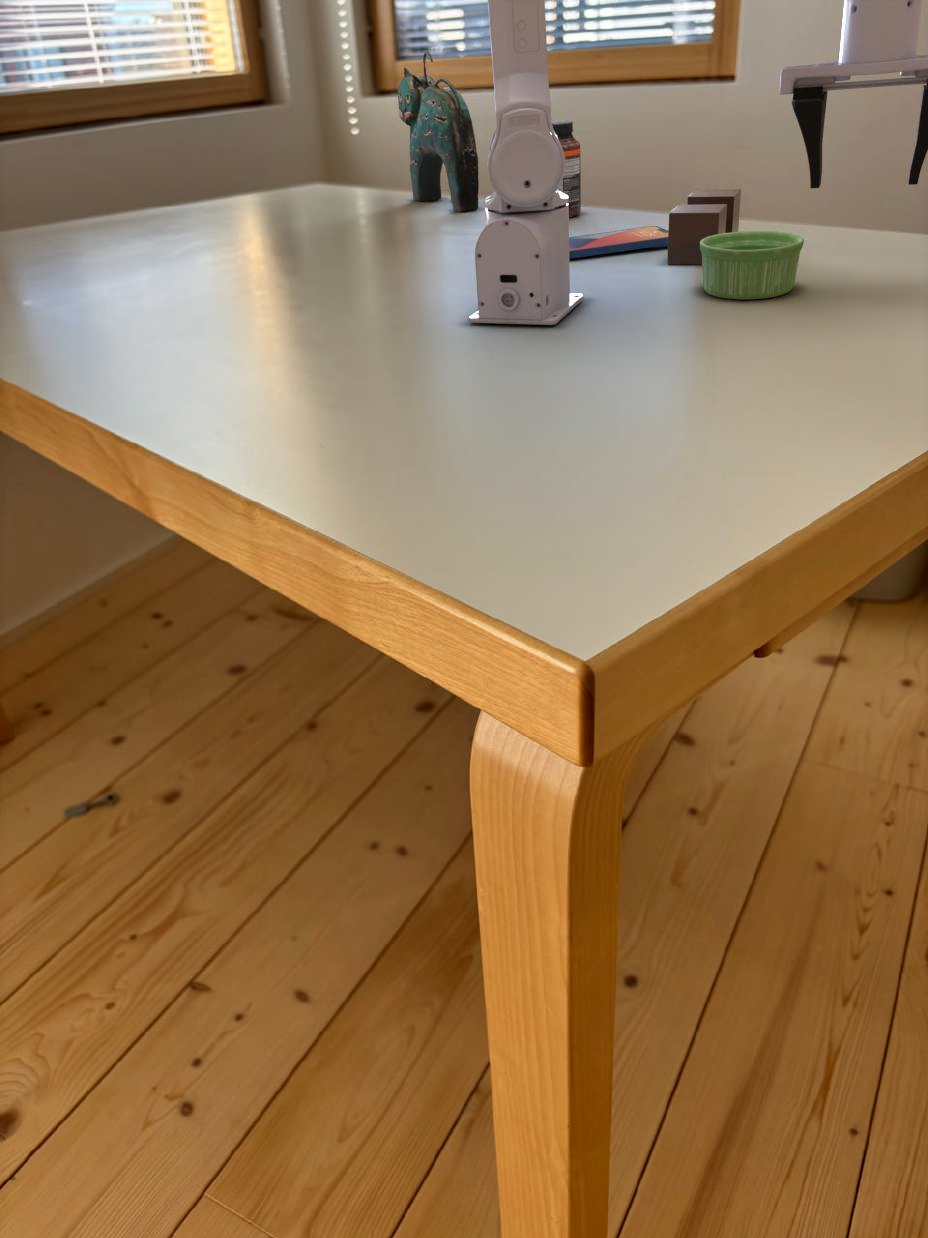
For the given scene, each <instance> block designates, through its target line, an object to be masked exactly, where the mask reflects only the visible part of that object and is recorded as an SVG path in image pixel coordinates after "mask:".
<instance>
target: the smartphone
mask: <svg viewBox="0 0 928 1238" xmlns="http://www.w3.org/2000/svg"><path fill="white" fill-rule="evenodd" d="M668 231H669V229H666V228H664V227H660V226H657V225H648V226H641V227H633V228H627V229H626V228H625V229H619V230H612V231H604V232H597V233H591V234H584V235H576V236H569V260H570V259H578V258H584V257H585V258H586V257H591V256H597V255H605V254H611V253H613V254H614V253H618V252H627V251H632V250H633V251H634V250H641V249H646V248H662V247H668Z"/></svg>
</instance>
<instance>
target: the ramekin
mask: <svg viewBox="0 0 928 1238" xmlns="http://www.w3.org/2000/svg"><path fill="white" fill-rule="evenodd" d="M804 243H805V240H804V237H802V236H801V235H799V234H795V233H792V232H785V231H777V230H746V231H745V230H743V231H738V232H730V233H722V234H717V235H712V236H709V237H706V238H704V239H702V240H701V241H700V250H701V252H702V265H701V267H702V269H701V270H702V288H703V290H704V292H705V293H707V294H708V295H710V296H713V297H717V298H721V299H728V300H761V299H769V298H775V297H779V296H783V295H785V294H787V293H789V292H791V290H793V289H794V286H795V282H796V278H797V277H796V276H797V271H798V266H799V260H800V255H801V251H802V249H803V247H804Z"/></svg>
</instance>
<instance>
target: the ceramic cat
mask: <svg viewBox="0 0 928 1238" xmlns="http://www.w3.org/2000/svg"><path fill="white" fill-rule="evenodd" d="M422 56H423V57H422V62H423V75H415V74H413V73H411V72H410V71H409V69H408V68H406V67H403V69H404V70H403V75H404V76H403V78H402V79H400V82H399V84H398V88H397V102H398V116H399V119H400V120H401V121H402V122H403V123H405V125H407V126H409V132H410V133H409V174H410V181H411V189H412V199H413V200H414V201H417V202H431V201H437V200H441V199H442V189H441V188H442V187H441V174H442V169H443V165H444V168H445V173H446V177H447V182H448V188H449V193H450V194H449V195H450V200H451V204H452V207H453V208H452V209H453V210H454V212H459V213H464V212H471V211H477V210H478V209H479V189H480V188H479V187H480V183H479V182H480V181H479V155H478V150H477V143H476V135H475V130H474V126H473V125H474V123H473V120H472V116H471V114H470V110H469V108H468V105H467V103H466V101H465V99H464V97H463V95H462V94H461V92H459V91H458V90H457V89H456V88H455V86H454V85H453V84H452V82H451V81H450V80H448V79H445V78H439V79H438V80H436V79H435V77H434V76H432V75H430V74H427V66H426V61H427V58H428V59H429V61H430V63H433V61H434V60H433V57H432V55H431V52H429V51H427V50H425V51H424V53H423V55H422ZM440 83H444V84H445V85H446V86H447V87H440V86H439V85H440Z"/></svg>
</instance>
